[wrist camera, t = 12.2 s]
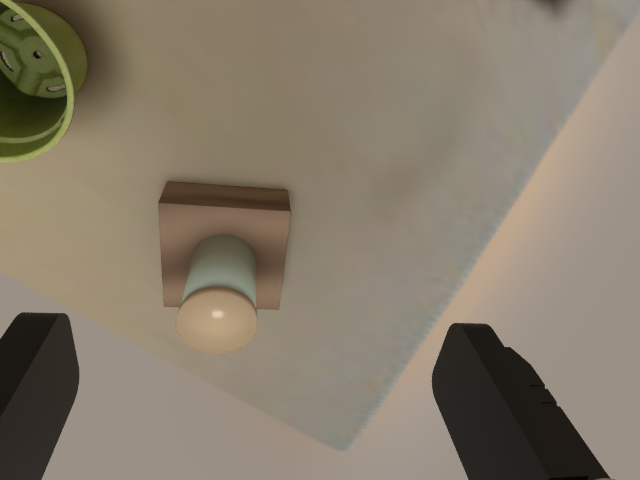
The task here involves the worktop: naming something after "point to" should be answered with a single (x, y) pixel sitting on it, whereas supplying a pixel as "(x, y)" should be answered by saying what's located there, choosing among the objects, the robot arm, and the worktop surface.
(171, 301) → the plinth
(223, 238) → the jar
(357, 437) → the worktop surface
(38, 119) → the plant pot
